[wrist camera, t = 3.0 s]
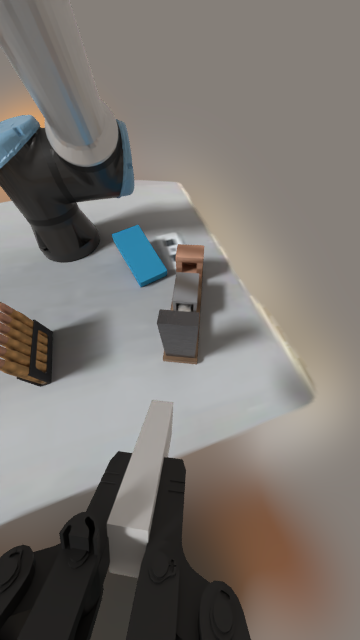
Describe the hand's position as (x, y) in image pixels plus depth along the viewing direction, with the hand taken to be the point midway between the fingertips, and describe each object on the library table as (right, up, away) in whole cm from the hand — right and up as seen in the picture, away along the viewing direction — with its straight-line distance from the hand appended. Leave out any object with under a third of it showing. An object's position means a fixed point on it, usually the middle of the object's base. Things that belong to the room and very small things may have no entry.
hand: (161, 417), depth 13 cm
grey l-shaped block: (+2, +7, +23) cm, 24 cm away
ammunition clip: (-24, 0, +21) cm, 32 cm away
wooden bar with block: (+3, +10, +26) cm, 28 cm away
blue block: (-9, +22, +34) cm, 42 cm away
